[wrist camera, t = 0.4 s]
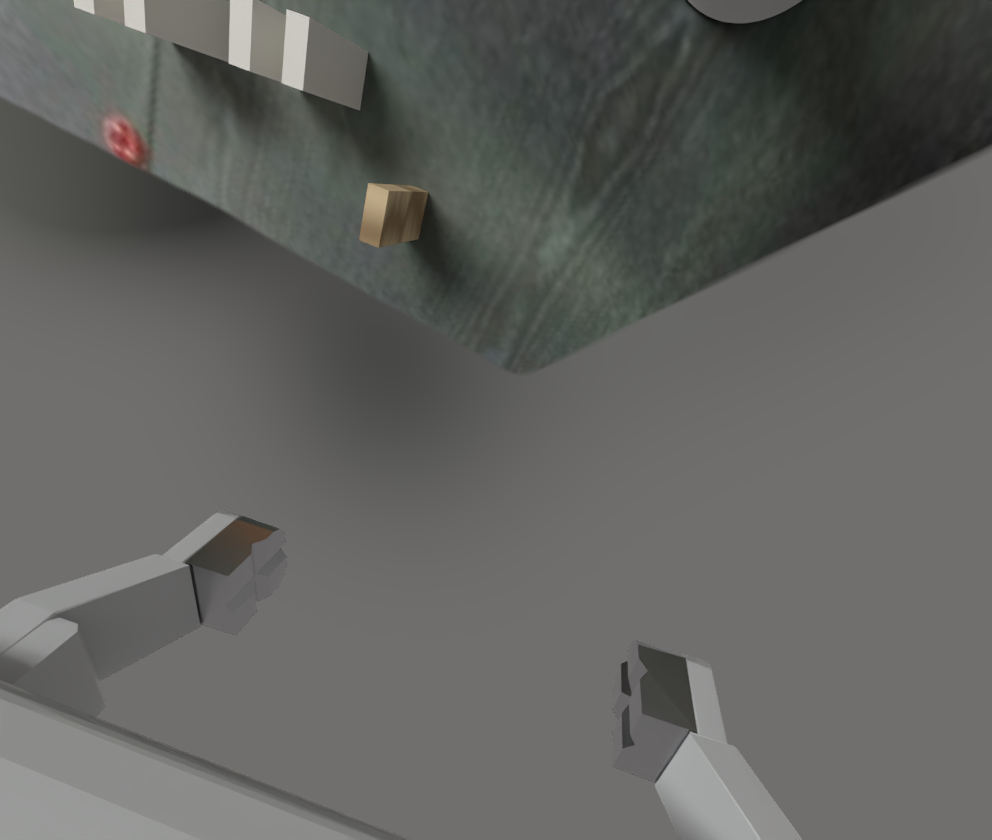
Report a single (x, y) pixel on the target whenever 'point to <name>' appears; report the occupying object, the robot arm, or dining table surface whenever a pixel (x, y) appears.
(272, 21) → the domino
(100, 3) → the domino
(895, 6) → the dining table surface
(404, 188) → the domino
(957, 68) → the dining table surface
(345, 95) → the domino
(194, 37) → the domino
